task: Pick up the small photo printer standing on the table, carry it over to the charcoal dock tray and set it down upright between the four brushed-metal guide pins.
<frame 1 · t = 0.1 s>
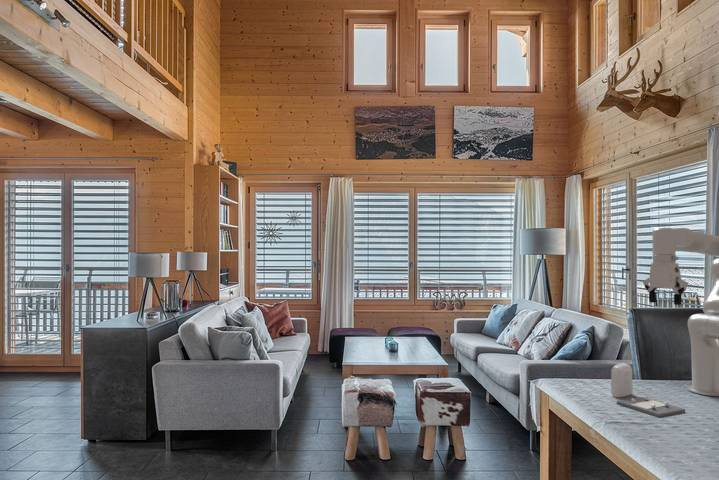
hand: (664, 303, 184), 37 cm above the table, tool pointing down, fingers open, 9 cm apart
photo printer: (622, 395, 187), on the table
dock tray: (649, 407, 171), on the table
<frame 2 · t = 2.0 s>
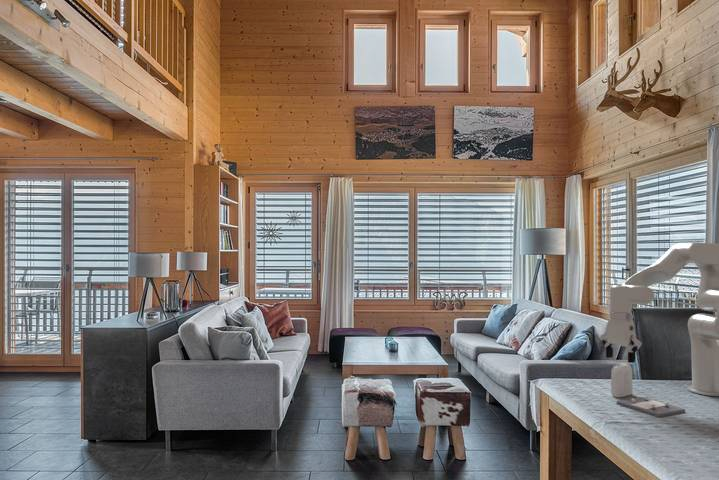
hand: (620, 359, 187), 14 cm above the table, tool pointing down, fingers open, 9 cm apart
nothing on the table moved.
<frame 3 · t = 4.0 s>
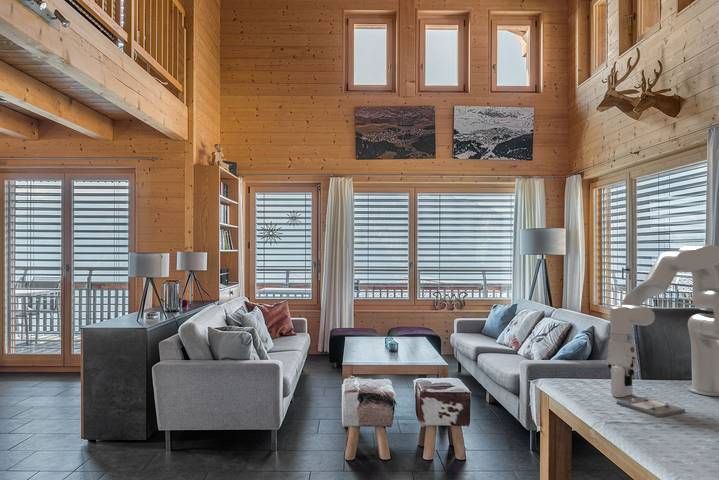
hand: (621, 383, 187), 5 cm above the table, tool pointing down, fingers closed on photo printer, 4 cm apart
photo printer: (622, 395, 187), on the table, touching gripper
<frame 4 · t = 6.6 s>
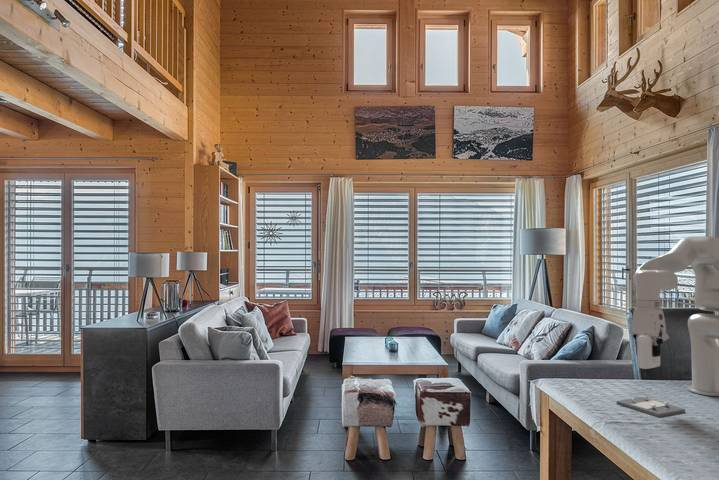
hand: (648, 354, 172), 19 cm above the table, tool pointing down, fingers closed on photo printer, 4 cm apart
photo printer: (649, 367, 172), point 14 cm above the table, touching gripper
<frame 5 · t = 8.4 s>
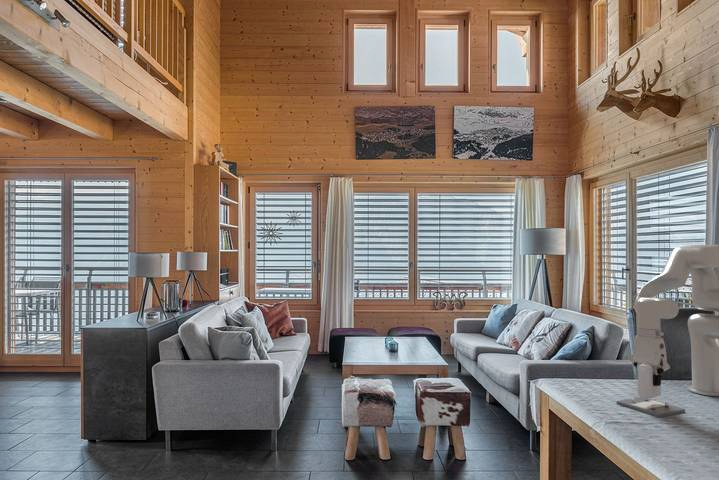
hand: (649, 383, 171), 9 cm above the table, tool pointing down, fingers closed on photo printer, 4 cm apart
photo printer: (649, 396, 171), point 4 cm above the table, touching gripper
when the fingers open (7 cm above the table, at t = 9.5 s): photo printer drops 2 cm, resting on dock tray.
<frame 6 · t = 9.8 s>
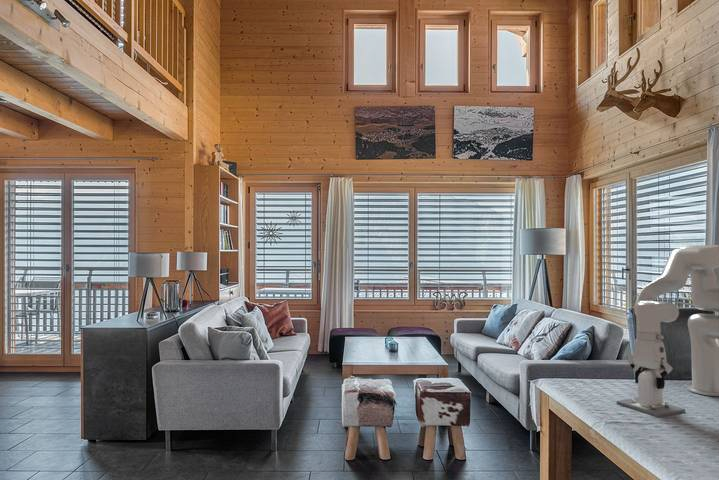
hand: (649, 385, 171), 8 cm above the table, tool pointing down, fingers open, 7 cm apart
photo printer: (651, 405, 171), point 1 cm above the table, touching dock tray
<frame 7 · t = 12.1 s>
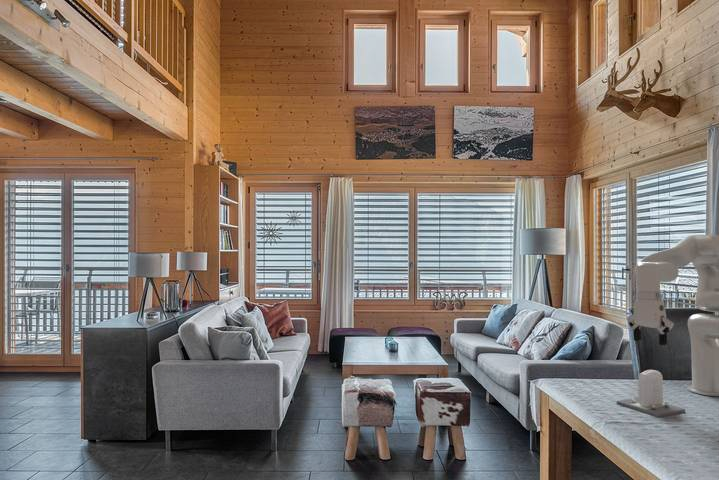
hand: (649, 342, 175), 23 cm above the table, tool pointing down, fingers open, 9 cm apart
nothing on the table moved.
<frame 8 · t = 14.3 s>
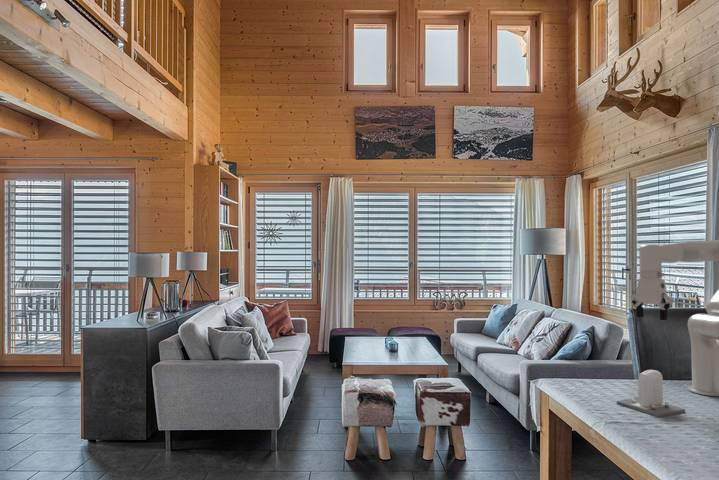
hand: (651, 318, 188), 30 cm above the table, tool pointing down, fingers open, 9 cm apart
nothing on the table moved.
at the end: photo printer 0.3 cm off-centre on the dock tray, point 1.0 cm above the dock tray's base; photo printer tilted 0°; the gripper is holding nothing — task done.
